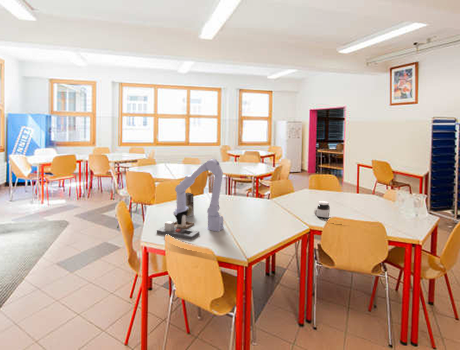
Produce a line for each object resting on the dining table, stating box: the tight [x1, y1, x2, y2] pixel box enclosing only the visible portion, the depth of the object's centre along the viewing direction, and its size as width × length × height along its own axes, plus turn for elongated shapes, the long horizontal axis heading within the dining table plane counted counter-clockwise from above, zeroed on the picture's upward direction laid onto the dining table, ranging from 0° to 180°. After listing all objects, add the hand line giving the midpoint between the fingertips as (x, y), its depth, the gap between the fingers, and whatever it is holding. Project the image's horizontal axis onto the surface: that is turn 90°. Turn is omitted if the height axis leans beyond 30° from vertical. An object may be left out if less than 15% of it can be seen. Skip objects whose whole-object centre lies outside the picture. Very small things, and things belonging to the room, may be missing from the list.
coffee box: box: [185, 192, 195, 218], centre depth 214 cm, size 9×6×16 cm
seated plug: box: [164, 220, 175, 231], centre depth 180 cm, size 4×4×7 cm
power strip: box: [156, 225, 200, 241], centre depth 178 cm, size 24×9×3 cm, turn 67°
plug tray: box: [173, 220, 195, 230], centre depth 192 cm, size 12×12×2 cm
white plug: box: [177, 215, 187, 227], centre depth 191 cm, size 4×4×7 cm
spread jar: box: [313, 200, 331, 220], centre depth 217 cm, size 12×11×12 cm
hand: (181, 223), depth 192 cm, fingers closed on white plug, 4 cm apart
